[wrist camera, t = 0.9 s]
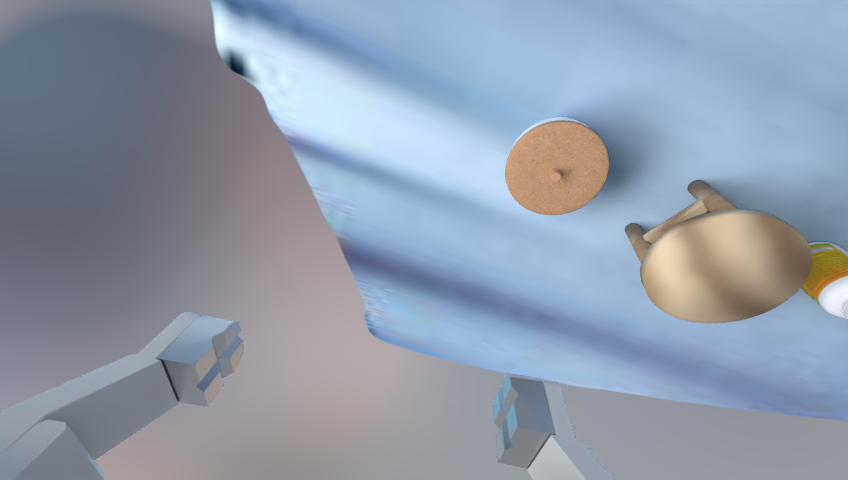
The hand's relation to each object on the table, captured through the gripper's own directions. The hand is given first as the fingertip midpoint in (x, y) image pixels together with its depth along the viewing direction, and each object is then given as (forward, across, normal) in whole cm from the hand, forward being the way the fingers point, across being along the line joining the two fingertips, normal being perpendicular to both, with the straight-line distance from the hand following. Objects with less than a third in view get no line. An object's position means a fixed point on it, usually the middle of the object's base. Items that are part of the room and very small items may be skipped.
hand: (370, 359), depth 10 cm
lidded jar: (+37, -15, +1) cm, 40 cm away
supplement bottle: (+32, -49, +7) cm, 59 cm away
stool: (+34, -34, +7) cm, 49 cm away
